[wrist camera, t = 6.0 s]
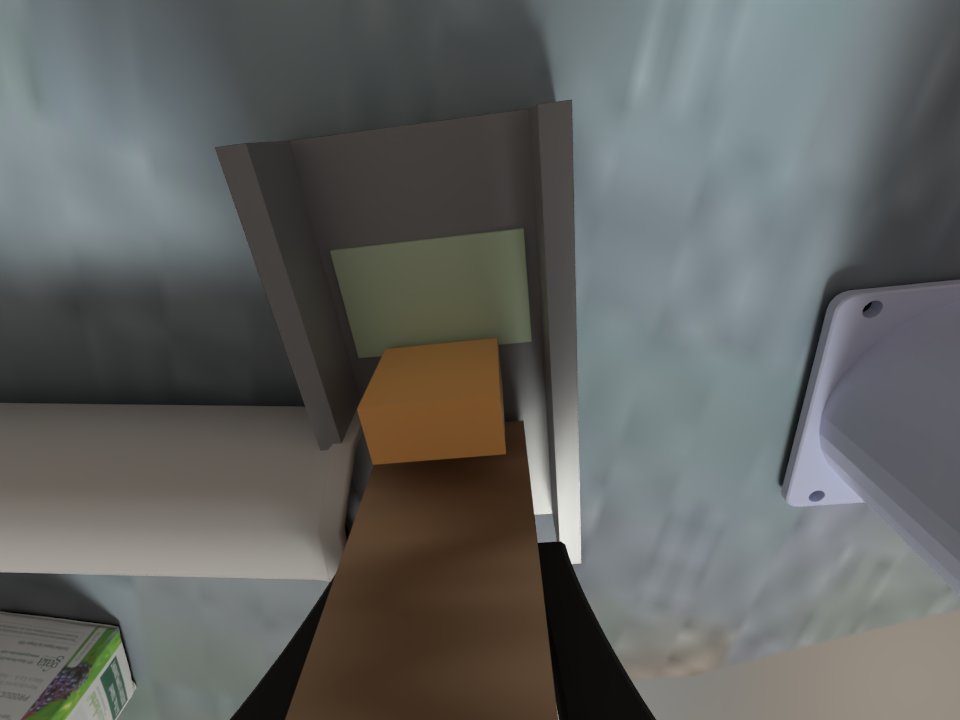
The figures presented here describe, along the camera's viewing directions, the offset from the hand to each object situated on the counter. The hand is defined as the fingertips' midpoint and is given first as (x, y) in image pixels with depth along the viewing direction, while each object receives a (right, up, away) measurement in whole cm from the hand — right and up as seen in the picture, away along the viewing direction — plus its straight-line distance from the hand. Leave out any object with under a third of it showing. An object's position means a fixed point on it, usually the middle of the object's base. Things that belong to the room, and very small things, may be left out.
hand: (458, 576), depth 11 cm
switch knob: (0, +5, +1) cm, 6 cm away
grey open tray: (0, +6, +3) cm, 7 cm away
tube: (-15, +3, +5) cm, 16 cm away
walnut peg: (0, +2, +3) cm, 3 cm away
